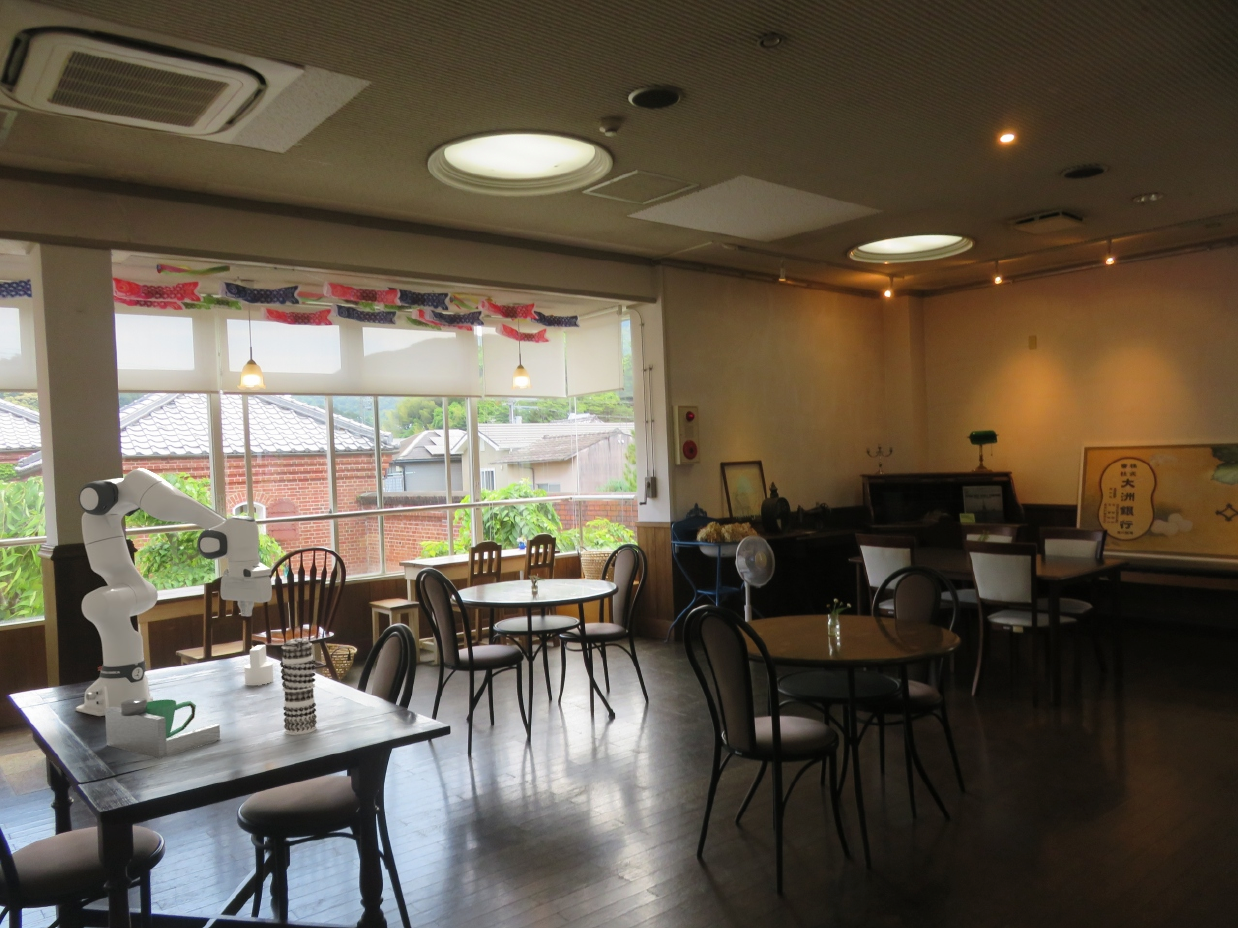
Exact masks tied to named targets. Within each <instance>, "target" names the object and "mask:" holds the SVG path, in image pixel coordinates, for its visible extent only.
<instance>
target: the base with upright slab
mask: <svg viewBox="0 0 1238 928" xmlns="http://www.w3.org/2000/svg"><path fill="white" fill-rule="evenodd" d="M273 666H274V665H273V662H270V661H267V645H266V644H257V645H255V646H254V647H252V648H251V649H249V663H248V664H246V665H244V669H243V670H244V685H245V684H246V685H245V686H247V685H258V686H263V685H262V684H265V685H268V684H267V683H269V684H271V683H272V681H273V682H274V667H273ZM270 682H271V683H270Z"/></svg>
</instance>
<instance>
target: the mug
mask: <svg viewBox="0 0 1238 928" xmlns="http://www.w3.org/2000/svg"><path fill="white" fill-rule="evenodd" d="M186 707H190V709H191V714H190V715H189V716H188V718H187V719H186V720H185V722H184V723H183V724H182V725H181V726H179V727H178V728H175V729H174V730H172V728H173V724H174V720H175V713H176V711H179V710H180V709H183V708H186ZM196 707H197V704H196V703H194V702H192V701H191V700H188V701H183V702H180V703H177V700H175V699H156V700H153V701H150V702H147V712H146V714H150V715H155V716H160V717H165V724H166V739H167V738H170V737H173V736H176V735H178V734H179V733H180V732H182V731H184V730H185V729H186V728H187V727H188V725H189V724H190V723H191V722H192V721H193V720H194V719H195V715H196V709H197V708H196Z"/></svg>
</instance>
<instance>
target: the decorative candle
mask: <svg viewBox="0 0 1238 928" xmlns="http://www.w3.org/2000/svg"><path fill="white" fill-rule="evenodd" d="M312 645H313V643H312V642H310V641H309V639H307V638H304V637H303V638H300V637H299V638H292V639H289V640H287V641H285V643H284V645H282V646H281V649H282V660H281V661H280V663H279V666H280V668H281V670H280V673H281V677H280V678H281V680H282V683H281V686H282V691H283V692H284V703H283V704H284V706H283V708H282V709H283V711H284V712H283V716H284V719H283V722H284V725H283V729H284V734H286V735H290V736H292V735H293V736H299V735H305V734H309V733H312V732H314V731H316V730H317V723H318V722H317V714H315V713H316V712H317V709H316V708H315V707H316V706H317V704H316V702H315V696H314V688H315V687H316V685H315V683H314V682H315V681H316V678H314V676H316V672H315V673H314V669H316V666H315V665H314V664H315V663H316V660H315V659H314V658H313V657H314V656H313V653H312Z"/></svg>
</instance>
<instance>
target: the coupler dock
mask: <svg viewBox="0 0 1238 928" xmlns="http://www.w3.org/2000/svg"><path fill="white" fill-rule="evenodd" d="M146 712H147V699H144V698H139V699H131V700H127V701H124V702H122V703H121V708H117V707H109V708H105V715H104V716H105V732H106V735H105V736H106V746H107V745H108V746H107V747H112V748H115V749H120V750H123V751H127V752H131V753H136V754H139V755H143V756H146V757H151V758H155V759H158V760H160V759H163V758H166V757H170V756H173V755H176V754H180V753H182V752H186V751H188V750H192V749H195V748H198V746H199V747H202V746H205V745H208V744H211V742H212V743H214V741H215V742H217V740H218V741H220V740H221V727H220V724H216V723H214V724H211V725H207V726H205V727H204V726H203V727H200V728H197V729H193V730H191V731H188V732H183V733H180V734H176V735H173V736H171V737H170V738H167V739H166V724H165V717H160V716H155V715H150V714H146ZM207 743H208V744H207ZM201 745H202V746H201Z"/></svg>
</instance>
